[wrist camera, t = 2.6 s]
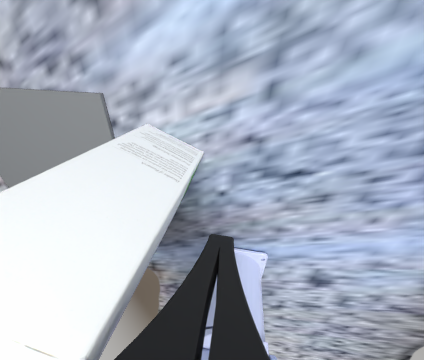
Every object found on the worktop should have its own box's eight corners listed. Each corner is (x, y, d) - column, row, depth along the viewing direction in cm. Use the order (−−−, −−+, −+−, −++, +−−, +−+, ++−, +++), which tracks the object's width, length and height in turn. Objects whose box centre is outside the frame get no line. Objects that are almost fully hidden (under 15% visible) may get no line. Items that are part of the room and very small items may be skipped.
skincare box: (179, 205, 22) (80, 406, 9) (128, 181, 21) (-60, 361, 8) (207, 148, 17) (88, 386, 4) (143, 116, 17) (-215, 282, 4)
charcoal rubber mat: (133, 210, 24) (132, 212, 23) (17, 194, 26) (14, 195, 26) (102, 93, 16) (99, 93, 16) (-57, 84, 19) (-63, 84, 18)
